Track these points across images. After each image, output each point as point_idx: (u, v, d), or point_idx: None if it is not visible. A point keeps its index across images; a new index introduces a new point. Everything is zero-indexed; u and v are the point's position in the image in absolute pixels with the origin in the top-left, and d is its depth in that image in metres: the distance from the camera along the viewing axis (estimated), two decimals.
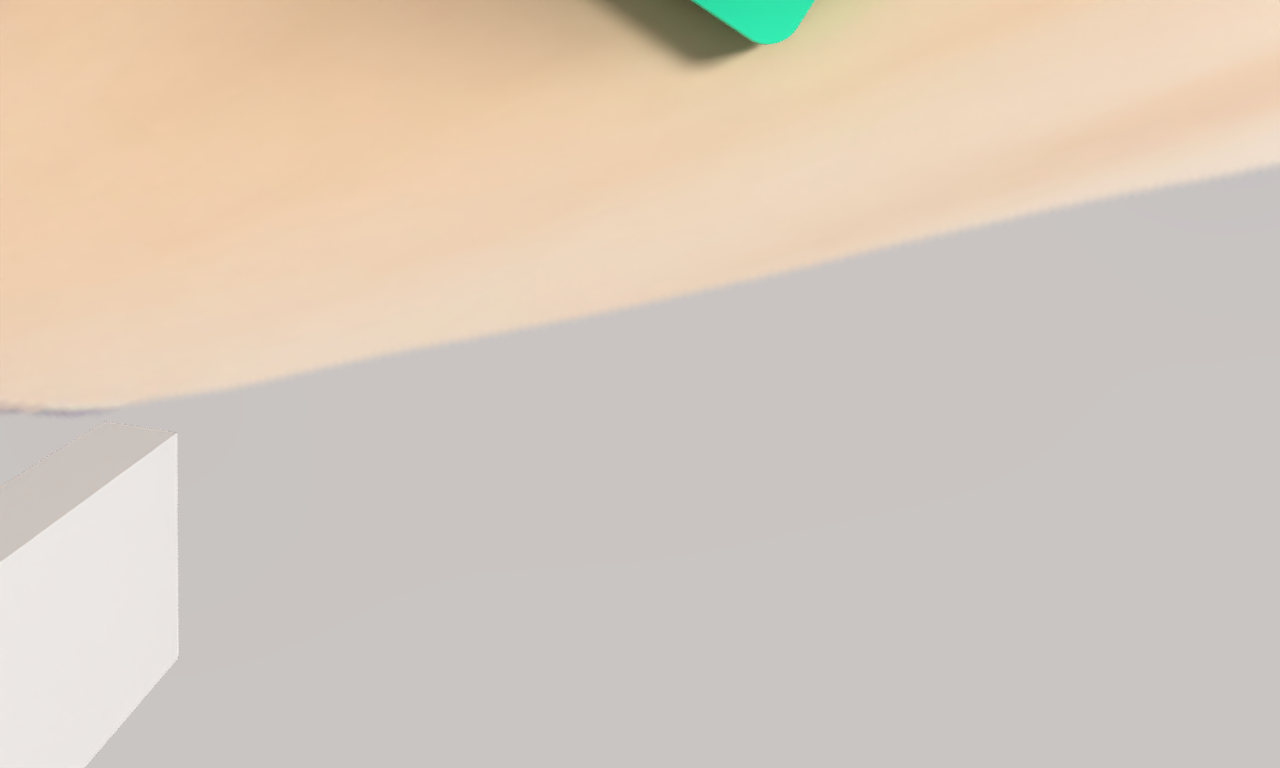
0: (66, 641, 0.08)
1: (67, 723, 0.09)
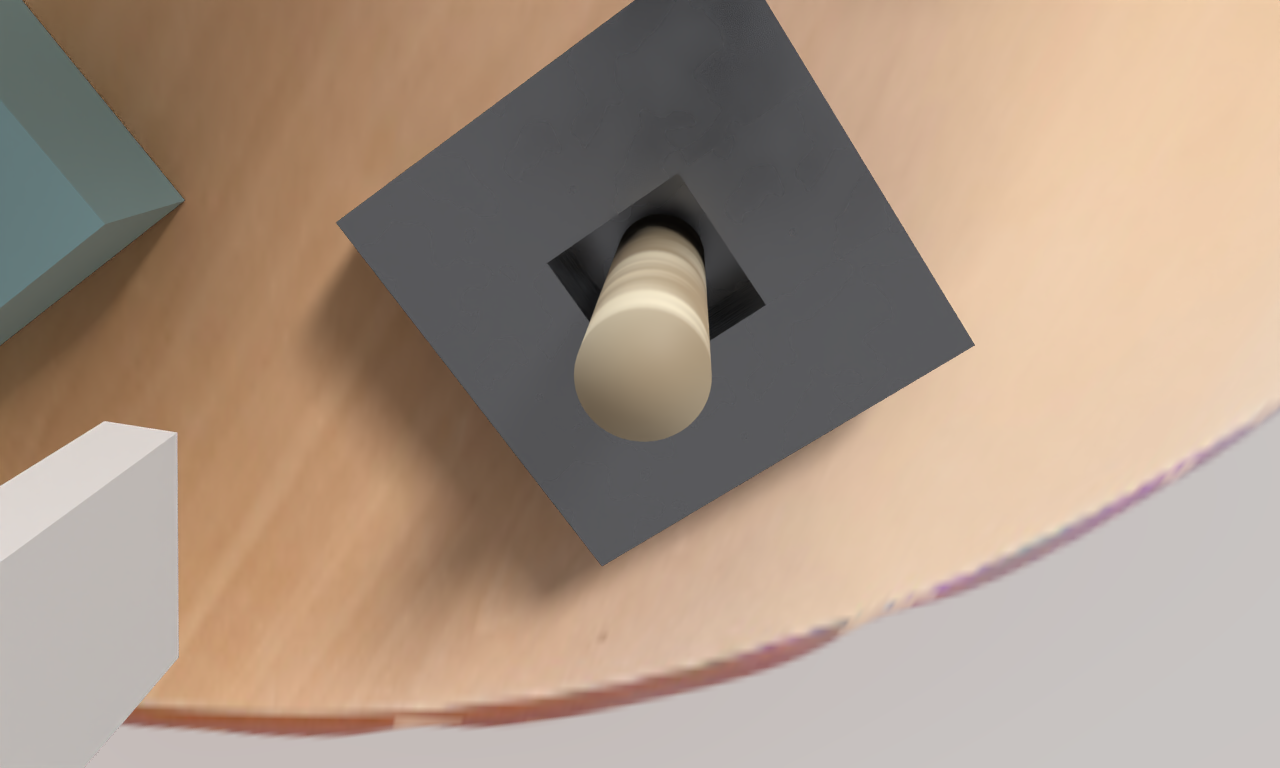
0: (65, 642, 0.08)
1: (67, 723, 0.09)
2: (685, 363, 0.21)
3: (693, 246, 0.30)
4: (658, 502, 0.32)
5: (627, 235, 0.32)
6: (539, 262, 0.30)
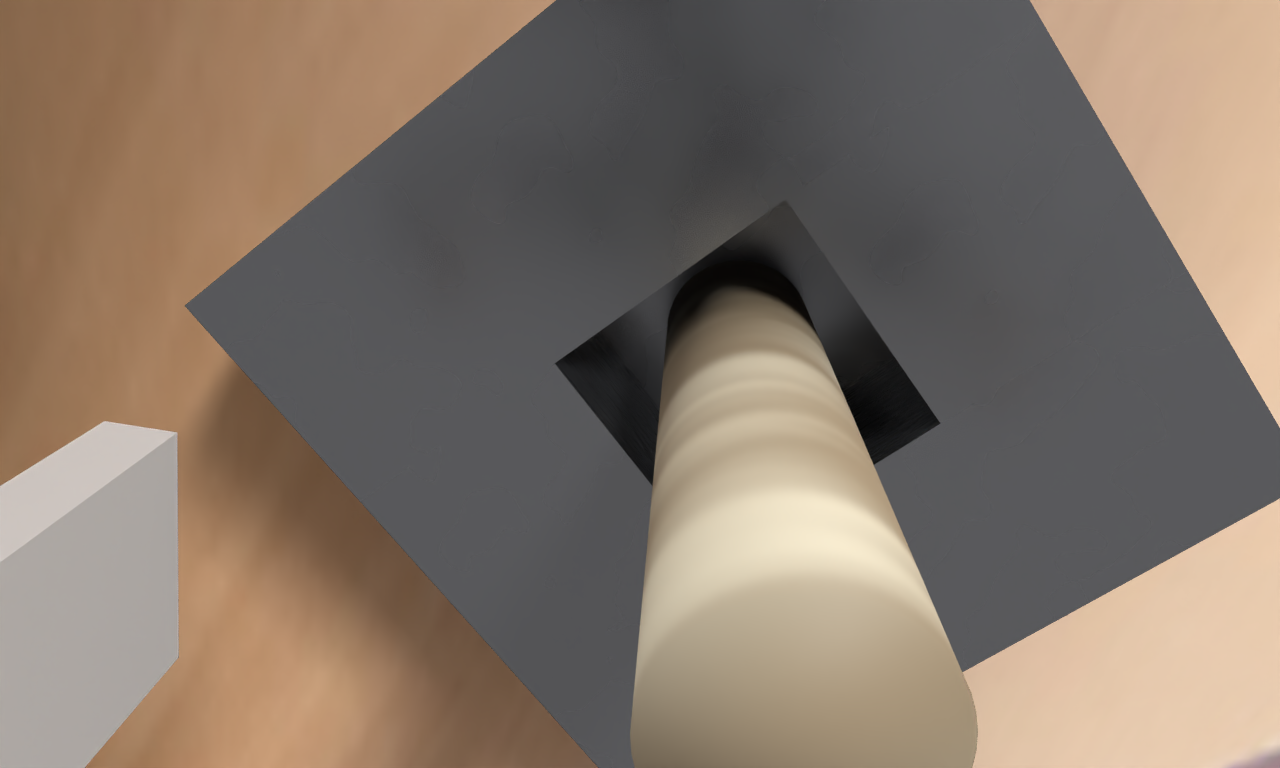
0: (65, 642, 0.08)
1: (68, 723, 0.09)
2: (912, 709, 0.08)
3: (807, 323, 0.17)
4: None
5: (688, 303, 0.19)
6: (541, 362, 0.17)
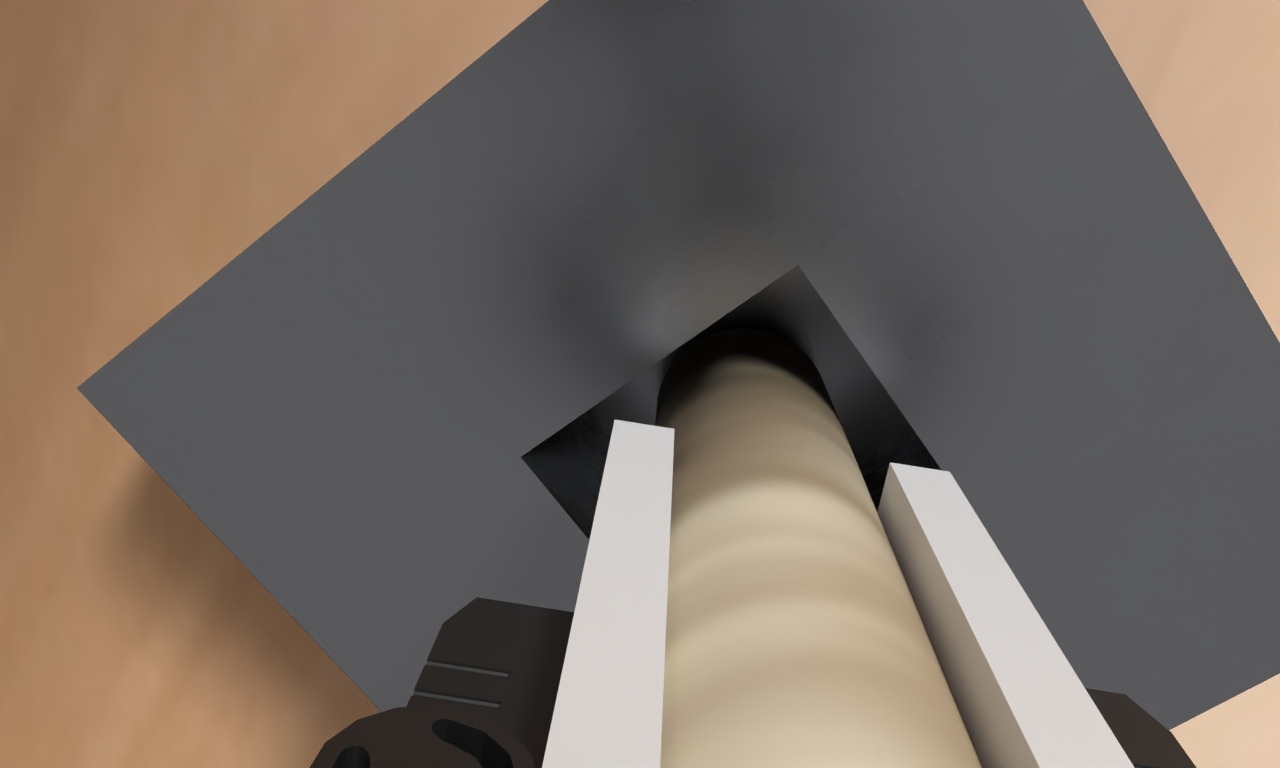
0: None
1: None
2: None
3: (831, 420, 0.14)
4: None
5: (681, 387, 0.15)
6: (504, 456, 0.14)
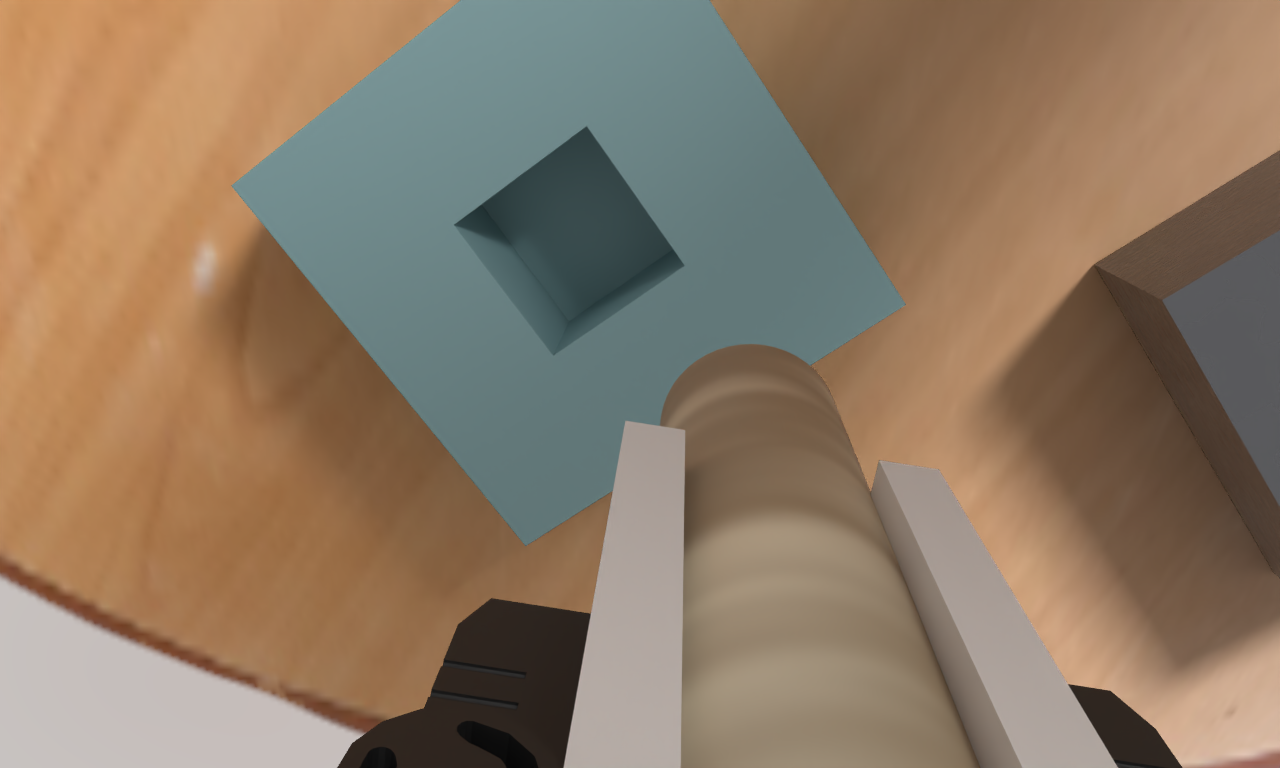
0: None
1: None
2: None
3: (842, 442, 0.13)
4: None
5: (685, 407, 0.15)
6: None
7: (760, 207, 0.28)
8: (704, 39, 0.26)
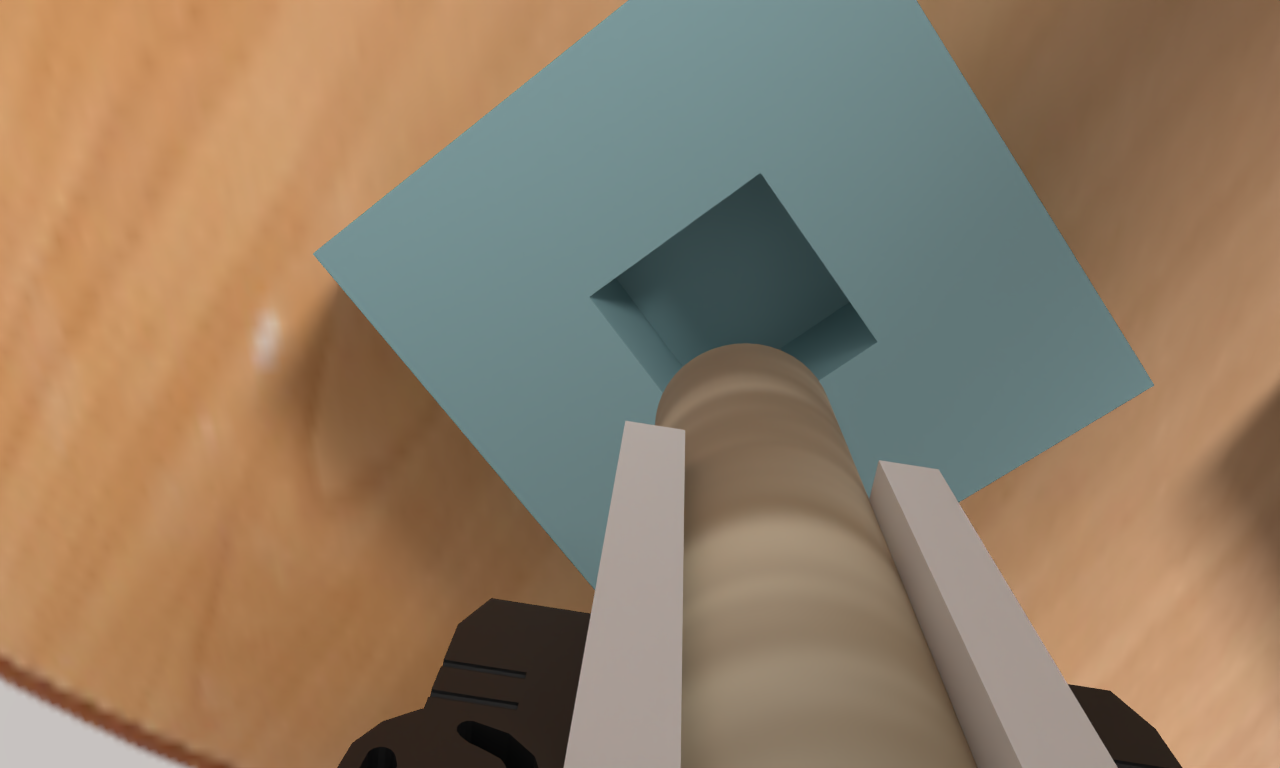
0: None
1: None
2: None
3: (837, 441, 0.13)
4: None
5: (680, 406, 0.15)
6: None
7: (976, 269, 0.22)
8: (915, 62, 0.21)
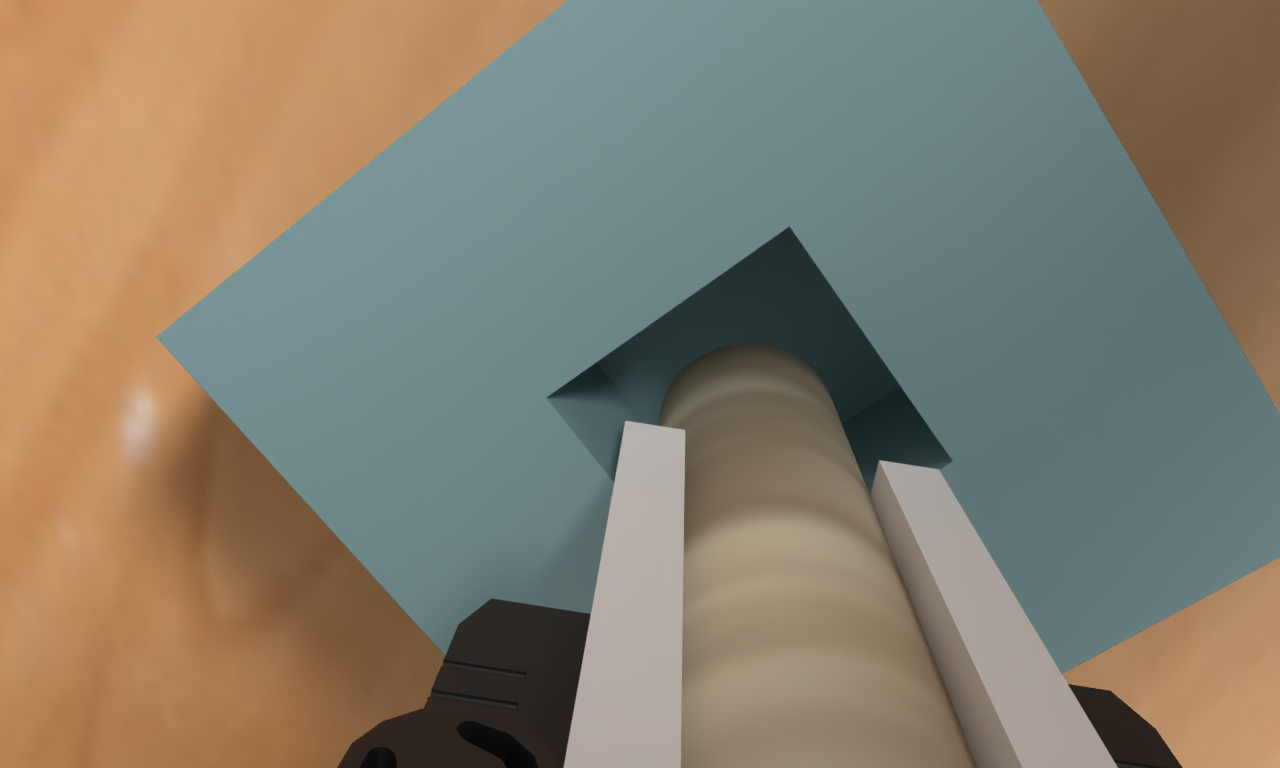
0: None
1: None
2: None
3: (839, 441, 0.13)
4: None
5: (683, 406, 0.15)
6: None
7: (1097, 362, 0.15)
8: (1018, 66, 0.14)
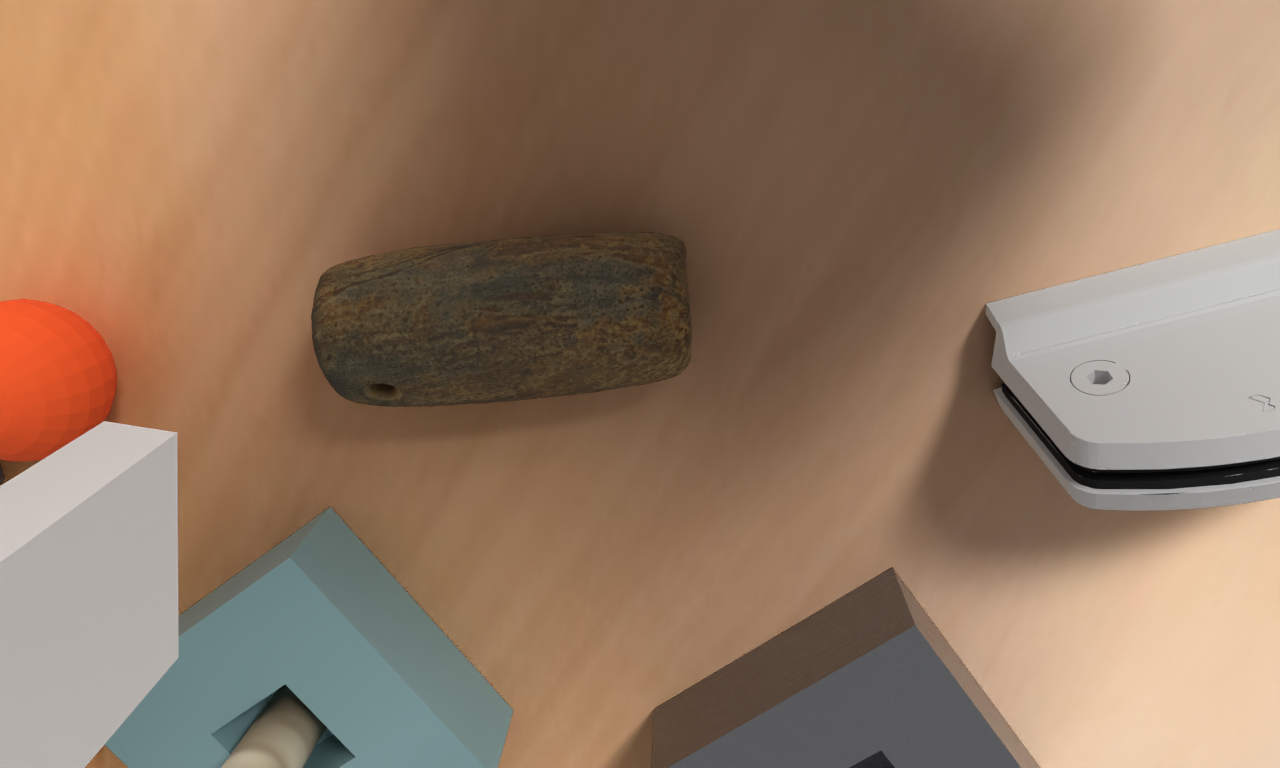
0: (64, 642, 0.08)
1: (67, 723, 0.09)
2: None
3: (304, 714, 0.46)
4: None
5: (272, 697, 0.47)
6: None
7: (397, 727, 0.45)
8: (349, 641, 0.43)
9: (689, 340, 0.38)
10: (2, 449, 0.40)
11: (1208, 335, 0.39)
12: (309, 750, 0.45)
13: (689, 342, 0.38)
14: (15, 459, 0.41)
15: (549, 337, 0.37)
